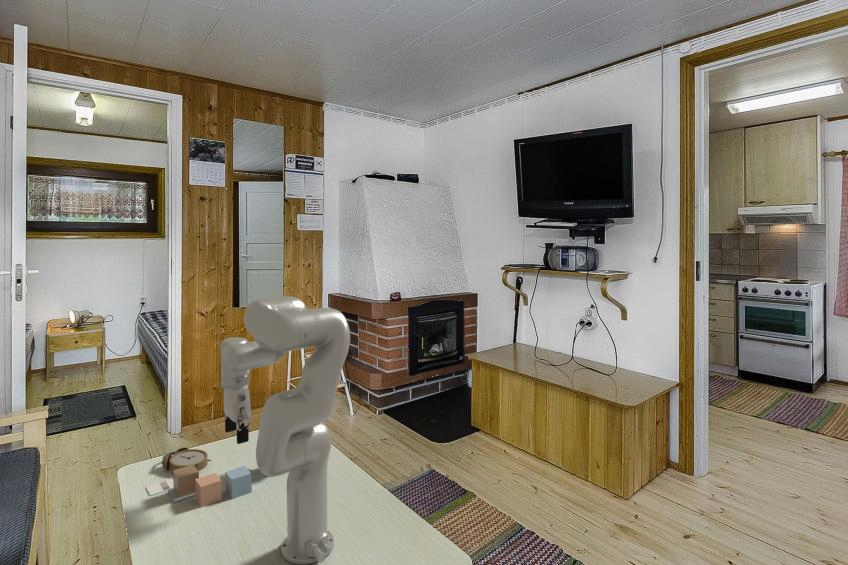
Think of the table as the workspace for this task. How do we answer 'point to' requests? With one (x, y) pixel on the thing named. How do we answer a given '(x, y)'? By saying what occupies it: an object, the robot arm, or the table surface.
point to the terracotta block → (208, 489)
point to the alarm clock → (185, 459)
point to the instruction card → (160, 487)
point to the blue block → (238, 482)
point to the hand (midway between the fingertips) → (236, 436)
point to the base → (184, 484)
